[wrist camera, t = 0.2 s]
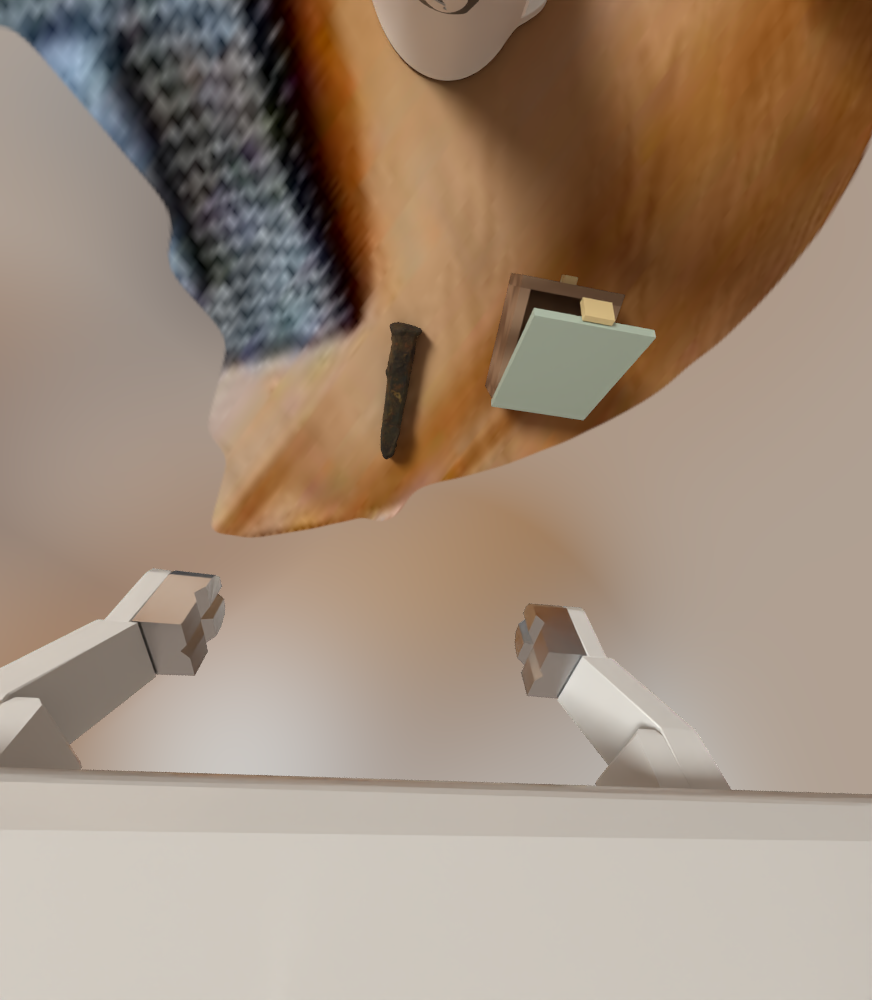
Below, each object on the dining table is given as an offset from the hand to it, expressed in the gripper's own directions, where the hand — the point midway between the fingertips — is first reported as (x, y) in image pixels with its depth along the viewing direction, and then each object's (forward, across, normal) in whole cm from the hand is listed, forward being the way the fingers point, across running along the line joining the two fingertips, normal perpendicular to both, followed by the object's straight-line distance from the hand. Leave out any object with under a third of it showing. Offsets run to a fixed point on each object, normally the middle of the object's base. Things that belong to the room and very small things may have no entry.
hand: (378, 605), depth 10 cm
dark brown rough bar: (+48, 0, +8) cm, 49 cm away
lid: (+38, -17, -2) cm, 42 cm away
